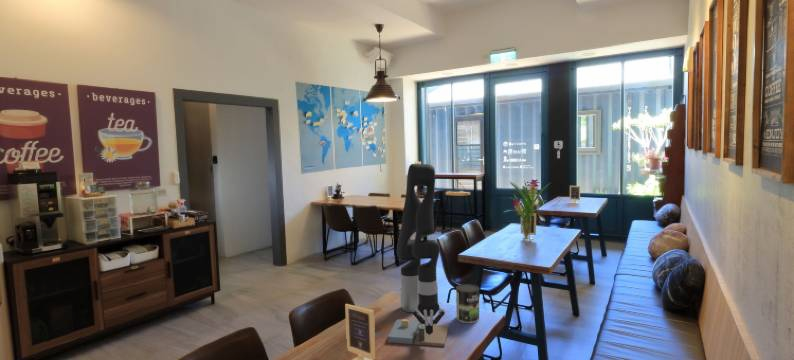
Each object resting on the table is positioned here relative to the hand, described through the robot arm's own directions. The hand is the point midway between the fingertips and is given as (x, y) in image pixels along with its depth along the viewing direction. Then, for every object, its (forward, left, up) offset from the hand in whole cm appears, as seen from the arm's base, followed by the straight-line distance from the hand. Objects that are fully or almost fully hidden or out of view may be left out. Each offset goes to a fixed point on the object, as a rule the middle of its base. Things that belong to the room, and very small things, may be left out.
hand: (429, 333), depth 164 cm
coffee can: (-9, +28, -5) cm, 30 cm away
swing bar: (-5, 0, -2) cm, 5 cm away
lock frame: (-9, +1, -4) cm, 10 cm away
